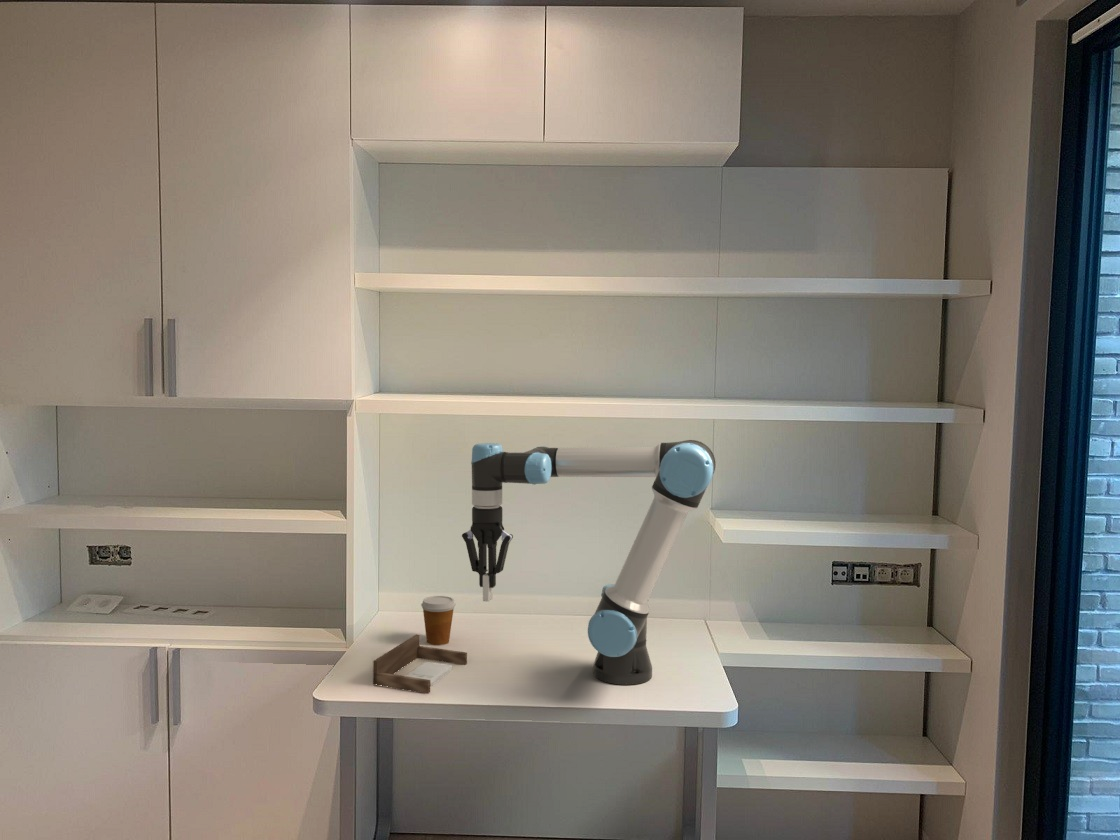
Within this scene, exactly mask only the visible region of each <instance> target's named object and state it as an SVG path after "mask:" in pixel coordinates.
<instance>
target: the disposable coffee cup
mask: <svg viewBox="0 0 1120 840" xmlns="http://www.w3.org/2000/svg"><path fill="white" fill-rule="evenodd" d="M420 605H421V608H422V613H423V619H424V621H423V622H424V629H425V638H426V639H425V640H426V643H427V644H428V645H431V646H443V645H447V644H449V643H450V638H451V630H452V622H453V616H454V609H455V607H456V602H455V599H454V598H453V597H451V596H445V595H433V596H428V597H425V598H423V599H422V603H421V604H420Z"/></svg>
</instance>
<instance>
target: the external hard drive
mask: <svg viewBox="0 0 1120 840" xmlns="http://www.w3.org/2000/svg"><path fill="white" fill-rule="evenodd" d="M452 670H453V665H450V664H443V663H435V662H428V661H423V662H422V663H421V664H420V665H418V666H417V667H415V668H414V669H413V670H412V671H410V672H409V673H407V674H406V675H405V676H408V677H414V678H420V679H427V680H430V687H433V685H435V684H436V683H437V682H439V681H440V680H441V679H443V677H445V676H446V675H448V673H450V672H451V671H452Z"/></svg>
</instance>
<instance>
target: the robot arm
mask: <svg viewBox="0 0 1120 840" xmlns="http://www.w3.org/2000/svg"><path fill="white" fill-rule="evenodd" d="M470 462H471V463H470V464H471V505H472V506H473V507H472V508H471V523H472V524H471V526H470V529H469V530H468V531H465V532H463V533H462V534H461V538H462V539H463V541H464V542H465V545H466V546H465V547H466V549H467V553H468V558H469V562H470V566H471V571H472V572H476V573H477V574H478V576H479V577H478V578H479V580H478V583H479V587H480V588H482V602H488V603H489V602H490V601H491V600H493V588H495V587H496V586H497V580H496V579H497V574H500V573H501V572H502V571H503V570H504V568H505V562H506V558H507V554H508V550H509V545H510V543H511V541H512V540H513V538H514V535H513V534H512V533H510V534H509V533H508V532H506V531H505V528H504V524H503V507H502V506H501V505H502V504H503V483H504V484H527V485H528V484H529V485H530V484H531V485H543V484H544V485H545V484H547V483H549V481H550V479H551V478H559V477H561V478H562V477H563V478H564V477H567V478H568V477H569V478H572V477H573V478H575V477H576V478H578V477H579V478H589V477H590V478H591V477H592V478H655V479H654V482H653V484H652V486H651V490H652V492H653V493H652V494H653V495H654V496H653V499H652V501H651V503H650V505H649V508H648V511H647V513H646V514H645V516H644V519H643V521H642V524H641V525H640V528H639V530H638V532H637V534H636V537H635V539H634V541H633V542H632V543H633V544H632V546H631V548H630V550H629V552H628V554H627V557H626V559H625V560H624V564H623V566H622V568H621V569H620V572H619V575H618V577H617V579H616V581H615V583H614V584H606V585H604V586H603V587H602V591H601V594H600V595H601V598H600V601H599V603H598V606H597V607H596V610H595V612H594V614H593V615H592V616H591V617H590V618H589V621H588V625H587V637H588V640H589V642H590V644H591V646H592V648H594V649H595V651H597V653H596V656H595V659H594V661H593V667H592V674H593V676H594V677H595V678H596V679H598V680H600V681H602V682H605V683H609V684H613V685H621V686H624V685H626V686H628V685H640V684H643V683H646V682H648V681H650V680H651V679H652V677H653V664H652V662H651V657H650V654H649V651H648V648H647V634H648V633H647V628H648V627H647V624H648V615H649V614H650V612H651V607H650V604H649V603H648V602H649V598H650V596H651V594H652V591H653V589H654V587H655V585H656V583H657V581H658V579H659V576H660V574H661V572H662V570H663V567H664V566H665V563H666V561H667V559H668V557H669V555H670V552H671V550H672V548H673V546H674V544H675V542H676V539H677V538H678V535H679V533H680V531H681V529H682V527H683V525H684V522H685V519H686V518H687V515H688V513H689V512H692V511H694V510H697V509H698V508H699V505H700V503H701V501H702V499H703V497H704V494H705V493H706V490H707V488H708V487H709V485H710V483H711V482H712V478H713V476H714V473H715V470H716V458H715V455H714V453H713V451H712V449H711V448H710V447H709V446H708V445H706V444H705V443H703V442H702V441H699V440H694V439H686V440H682V441H675V442H674V441H672V442H659V443H658V444H657V445H656V446H619V447H618V446H612V447H611V446H606V447H603V446H601V447H600V446H597V447H595V446H594V447H593V446H592V447H588V446H587V447H586V446H585V447H580V446H579V447H549V446H548V447H547V446H536V447H534V448H533V449H529V450H528V451H524V452H510V451H509V452H507V451H504V450H503V445H502V444H500V443H494V442H493V443H492V442H483V443H476V444H474V445H473V446H472V449H471V461H470ZM474 538H475V539H476V541H477V547H476V544H475V540H474ZM499 539H501V544H500V548H499V553H498V556H497V547H498V540H499ZM477 548H478V553H477ZM487 553H488V554H487ZM487 557H488V558H487ZM487 564H488V565H487Z"/></svg>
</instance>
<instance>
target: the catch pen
mask: <svg viewBox="0 0 1120 840" xmlns="http://www.w3.org/2000/svg"><path fill="white" fill-rule="evenodd" d="M420 642H421V641H420V634H415V635H413V636H411V637H409V638H408V639H407V640H405V641H403V642H402V643H399V645H397V646H395V647H393V648H392V649H391V650H389V651H387V652H386V653H384V654H382V655H380V656H379V657H377V658H375V659H374V660H372V661H373V662H372V665H373V667H372V672H373V673H372V685H373V684H377V685H382V686H381V687H383V686H388V687H387V688H389V687H392V689H396V688H397V690H402V689H404V690H403V691H408V690H411V691H410V692H414V691H416V692H415V693H422V694H431V686H430V680H427V679H420V678H414V677H408V676H406V675H401V674H400V675H399V674H396V673H397V672H399V671H400V670H402V669H403V668H405V667H406V666H408V665H409V664H410V662H411V663H412V662H414V661H416V659H423V660H428V661H435V662H436V661H437V662H441V663H442V662H443V663H450V664H457V665H462V666H463V665H464V666H466V665H467V664H468V652H464V651H460V650H459V651H458V650H452V649H445V648H438V647H432V646H431V647H430V646H424V645H420V644H421V643H420ZM413 660H414V661H413ZM407 664H408V665H407ZM404 666H405V667H404ZM402 667H403V668H402ZM401 668H402V669H401ZM398 670H399V671H398ZM395 672H396V673H395ZM394 673H395V674H394ZM377 685H376V686H377Z"/></svg>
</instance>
